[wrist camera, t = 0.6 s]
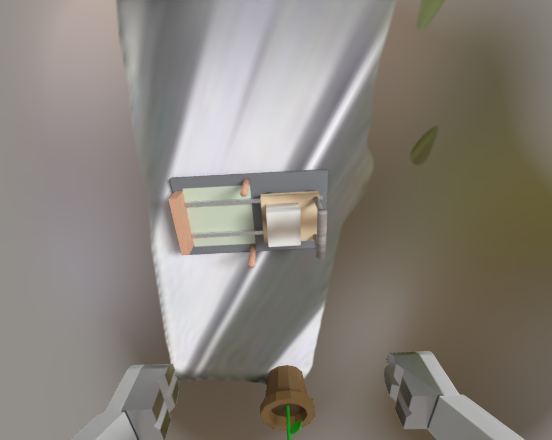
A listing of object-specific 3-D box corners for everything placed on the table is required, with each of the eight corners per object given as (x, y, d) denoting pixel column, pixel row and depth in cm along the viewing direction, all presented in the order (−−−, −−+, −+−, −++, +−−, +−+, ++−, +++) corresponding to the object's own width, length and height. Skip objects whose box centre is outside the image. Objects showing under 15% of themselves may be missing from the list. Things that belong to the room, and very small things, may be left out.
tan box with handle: (260, 192, 51) (259, 213, 42) (318, 189, 51) (328, 209, 42) (264, 237, 55) (263, 264, 47) (317, 234, 55) (326, 261, 47)
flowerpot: (279, 353, 73) (286, 506, 46) (319, 372, 77) (347, 523, 50) (251, 381, 78) (243, 534, 51) (290, 397, 82) (301, 547, 55)
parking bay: (173, 182, 50) (159, 194, 44) (249, 177, 50) (247, 190, 44) (189, 252, 57) (179, 272, 51) (256, 248, 57) (254, 268, 51)
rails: (180, 201, 52) (178, 203, 51) (322, 193, 52) (323, 195, 51) (187, 236, 55) (186, 238, 54) (321, 228, 55) (322, 231, 54)
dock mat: (171, 177, 51) (169, 179, 50) (327, 169, 51) (328, 170, 50) (188, 252, 58) (187, 254, 57) (324, 244, 58) (325, 247, 57)
